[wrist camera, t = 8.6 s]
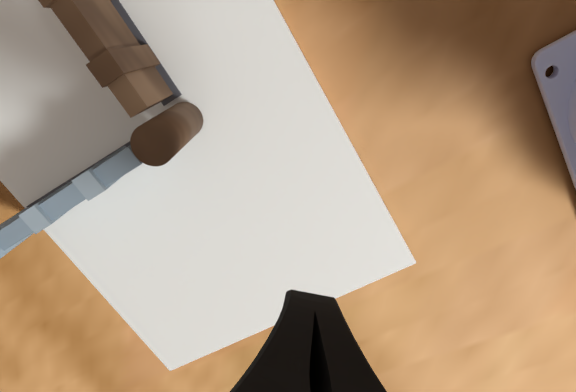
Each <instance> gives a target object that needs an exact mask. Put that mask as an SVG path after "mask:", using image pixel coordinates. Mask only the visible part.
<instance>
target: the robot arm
mask: <svg viewBox="0 0 576 392" xmlns="http://www.w3.org/2000/svg"><path fill="white" fill-rule="evenodd" d="M531 66H532V69H533V72H534V75H535V78H536V80H537V83H538V86H539V89H540V92H541V94H542V97H543V100H544V103H545V106H546V108H547V111H548V114H549V117H550V120H551V122H552V125H553V128H554V131H555V134H556V136H557V139H558V142H559V145H560V148H561V150H562V153H563V156H564V159H565V162H566V164H567V167H568V170H569V173H570V176H571V178H572V181H573V184H574V187H575V190H576V30H575V31H573V32H571V33H570V34H568V35H566V36H564V37H562V38H560V39H558V40H556V41H555V42H553V43H551V44H549V45H547V46H545V47H543V48H541V49H540V50H538V51H537V52H536V53H535V54H534V56H533V57H532V60H531ZM550 66H553V73H552V75H550V76H549V77H546V76H545V72H546V69H547V68H548V67H550ZM230 392H387V391H386V390H385V388H384V387H383V385H382V384H381V382H380V381H379V379H378V378H377V376H376V375H375V373H374V371H373V370H372V368H371V366H370V365H369V363H368V361H367V360H366V358H365V356H364V355H363V353H362V351H361V349H360V347H359V346H358V344H357V342H356V340H355V338H354V336H353V335H352V333H351V331H350V329H349V327H348V325H347V323H346V321H345V319H344V317H343V314H342V312H341V310H340V308H339V306H338V303H337V301H336V300H335V298H334V297H329V296H324V295H318V294H313V293H308V292H303V291H297V290H292V289H291V290H289V291H287V292H286V295H285V299H284V304H283V308H282V311H281V313H280V315H279V318H278V320H277V322H276V324H275V326H274V328H273V329H272V331H271V333H270V335H269V337H268V339H267V340H266V342H265V344H264V345H263V347H262V348H261V350H260V351H259V353H258V355H257V356H256V358H255V359H254V361H253V362H252V364H251V365H250V366H249V368H248V369H247V370H246V372H245V373H244V375H243V376H242V377H241V378H240V380H239V381H238V382H237V384H236V385H235V386H234V387H233V388H232V390H231V391H230Z"/></svg>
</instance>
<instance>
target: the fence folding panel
mask: <svg viewBox="0 0 576 392" xmlns="http://www.w3.org/2000/svg"><path fill="white" fill-rule="evenodd" d="M141 164H142V162H141V161H139V160H138V159H137V158H136V156H135V155H134V154H133V152H132V149H131V145H129V146H128V147H126V146H124V147H122V148H121V149H119V150H118V151H116V152H114V153H113V154H111V155H110V156H108V157H107V158H105V159H104V160H102V161H101V162H99V163H98V164H96V165H95V166H93V167H92V168H90V169H89V170H87V171H86V172H84V173H82V174H81V175H79V176H78V177H76V178H75V179H73V180H72V181H70V182H69V183H67V184H66V185H64V186H62V187H61V188H59V189H58V190H56V191H55V192H53V193H52V194H50V195H49V196H47V197H46V198H44V199H43V200H41V201H40V202H38V203H37V204H35V205H34V206H32V207H27V208H25V209H23V210H22V211H20V212H19V213H17V214H16V215H14V216H13V217H11V218H10V219H8V220H6V221H5V222H3V223H2V224H0V258H2V257H3V256H4V255H6V254H7V253H8V252H10V251H11V250H12V249H13V248H15V247H16V246H17V245H19V244H20V243H21V242H23V241H24V240H25V239H27V238H28V237H29V236H31V235H32V234H33V233H35V234H37V233H38V232H40V231H42V230H43V229H45V228H46V227H48V226H50V225H51V224H52V223H54V222H55V221H56V220H58V219H59V218H60V217H61V216H63V215H64V214H65V213H67V212H68V211H69V210H71V209H72V208H73V207H74V206H76V205H78V204H79V203H81V202H82V201H84V200H85V199H87V200H88V201H89V200H91V199H93V198H94V197H96V196H97V195H99V194H101V193H102V192H104V191H105V190H106V189H108V188H109V187H110V186H111V185H113V184H114V183H115V182H116V181H118V180H119V179H120V178H121V177H122V176H124V175H125V174H127V173H128V172H130V171H131V170H133V169H135V168H136V167H138V166H139V165H141Z"/></svg>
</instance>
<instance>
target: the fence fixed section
mask: <svg viewBox="0 0 576 392" xmlns="http://www.w3.org/2000/svg"><path fill="white" fill-rule="evenodd" d="M38 1H39V2H40V3H41V5H42V6H43V7H44V8H51V9H52V11H53V12H54V13H55V15H56V16H57V17H58V19H59V20H60V22H61V23H62V24H63V26H64V27H65V28H66V30H67V31H68V33H69V34H70V35H71V37H72V38H73V39H74V41H75V42H76V44H77V45H78V46H79V48H80V49H81V50H82V52H83V53H84V55H85V56H86V57H87V59H88V60H89V61H90V62H89V63H88V64H86V66H87V68H88V69H89V70H90V72H91V73H92V74H93V76H94V77H95V78H96V80H97V81H98V83H99V84H100V85H101V87H102V88H103V87H107V86H108V88H109V89H110V90H111V92H112V93H113V94H114V96H115V97H116V99H117V100H118V101H119V103H120V104H121V105H122V107H123V108H124V110H125V111H126V112H127V114H128V115H129V116H130V118H132V117H134V116H135V115H137V114H139V113H141V112H143V111H145V110H147V109H149V108H151V107H153V106H155V105H156V104H158V103H160V102H162V101H163V100H165V99H166V98H168V97H169V96H171V95H172V94H173V93H172V91H171V90H170V88H169V87H168V85H167V84H166V83H165V81H164V80H163V78H162V77H161V75H160V74H159V72H158V71H157V69H156V68H155V67H156V66H157V65H159V64H160V62H159V60H158V59H157V57H156V56H155V54H154V53H153V52H152V50H151V49H150V47H149V46H148V44H146V45H140V44H139V43H138V41H137V40H136V38H135V37H134V35H133V34H132V32H131V31H130V29H129V28H128V26H127V25H126V23H125V22H124V20H123V19H122V17H121V16H120V14H119V13H118V11H117V10H116V8H115V7H114V6H113V4H112V3H111V1H112V0H38ZM202 126H203V116H202V113H201V111H200V110H199V109H198V107H196V106H195V105H194V104H192V103H189V102H179V103H177V104H175V105H173V106H172V107H170V108H168V109H167V110H165V111H163V112H162V113H160V114H158V115H157V116H155V117H153V118H152V119H150V120H148V121H147V122H145V123H143V124H142V125H140V126H138V127H137V128H136V129H135V130H134V131H133V133H132V135H131V138H130V145H131V149H132V152H133V154H134V155H135V156H136V158H137V159H138V160H139V161H141V162H142V163H144V164H146V165H149V166H162V165H164V164H166V163H167V162H169V161H170V160H171V159H172V158H173V157H174V156H175V155H176V154H177V153H178V152H179V151H180V150H181V149H182V148H183V147H184V146H185V145H186V144H187V143H188V142H189V141H190V140H191V139H192V138H193V137H194V136H195V135H196V134H197V133H199V132H200V130H201V129H202Z"/></svg>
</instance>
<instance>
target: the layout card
mask: <svg viewBox="0 0 576 392" xmlns="http://www.w3.org/2000/svg"><path fill="white" fill-rule="evenodd" d="M111 3H112V4H113V6H114V7H115V8H116V10H117V11H118V13H119V14H120V16H121V17H122V19H123V20H124V22H125V23H126V25H127V26H128V28H129V29H130V31H131V32H132V34H133V35H134V37H135V38H136V40H137V41H138V43H139V44H140V45H146V44H148V46H149V47H150V49H151V50H152V52H153V53H154V54H155V56H156V57H157V59H158V60H159V62H160V64H159V65H157V66H156V67H155V68H156V69H157V71H158V72H159V74H160V75H161V77H162V78H163V80H164V81H165V83H166V84H167V85H168V87H169V88H170V90H171V91H172V93H173V94H172V95H171V96H169V97H168V98H166V99H165V100H163V101H162V102H160V103H158V104H156V105H155V106H153V107H151V108H149V109H147V110H145V111H143V112H141V113H139V114H137V115H135V116H134V117H132V118H130V116H129V115H128V114H127V112H126V111H125V110H124V108H123V107H122V105H121V104H120V103H119V101H118V100H117V99H116V97H115V96H114V94H113V93H112V92H111V90H110V89H109V88H108V86H107V87H103V88H102V87H101V85H100V84H99V83H98V81H97V80H96V78H95V77H94V76H93V74H92V73H91V72H90V70H89V69H88V68H87V66H86V64H88V63H89V62H90V61H89V60H88V59H87V57H86V56H85V55H84V53H83V52H82V50H81V49H80V48H79V46H78V45H77V44H76V42H75V41H74V39H73V38H72V37H71V35H70V34H69V33H68V31H67V30H66V28H65V27H64V26H63V24H62V23H61V22H60V20H59V19H58V17H57V16H56V15H55V13H54V12H53V11H52V9H51V8H44V7H43V6H42V5H41V3H40V2H39V1H38V0H0V181H1V182H2V183H3V184H4V186H5V187H6V188H7V189H8V190H9V191H10V192H11V193H12V194H13V196H14V197H15V198H16V199H17V200H18V201H19V202H20V203H21V205H22V206H23V207H24V208H27V207H32V206H34V205H35V204H37V203H38V202H40V201H41V200H43V199H44V198H46V197H47V196H49V195H50V194H52V193H53V192H55V191H56V190H58V189H59V188H61V187H62V186H64V185H66V184H67V183H69V182H70V181H72V180H73V179H75V178H76V177H78V176H79V175H81V174H82V173H84V172H86V171H87V170H89V169H90V168H92V167H93V166H95V165H96V164H98V163H99V162H101V161H102V160H104V159H105V158H107V157H108V156H110V155H111V154H113V153H114V152H116V151H118V150H119V149H121V148H122V147H124V146H126V147H128V146H129V145H130V138H131V135H132V133H133V131H134V130H135V129H136V128H137V127H138V126H140V125H142V124H143V123H145V122H147V121H148V120H150V119H152V118H153V117H155V116H157V115H158V114H160V113H162V112H163V111H165V110H167V109H168V108H170V107H172V106H173V105H175V104H177V103H179V102H189V103H192V104H194V105H195V106H196V107H198V109H199V110H200V111H201V113H202V116H203V126H202V129H201V130H200V132H199V133H197V134H196V135H195V136H194V137H193V138H192V139H191V140H190V141H189V142H188V143H187V144H186V145H185V146H184V147H183V148H182V149H181V150H180V151H179V152H178V153H177V154H176V155H175V156H174V157H173V158H172V159H171V160H170V161H169V162H167V163H166V164H164V165H162V166H149V165H146V164H144V163H142V164H141V165H139V166H138V167H136V168H135V169H133V170H131V171H130V172H128V173H127V174H125V175H124V176H122V177H121V178H120V179H119V180H118V181H116V182H115V183H114V184H113V185H111V186H110V187H109V188H108V189H106V190H105V191H104V192H102V193H101V194H99V195H97V196H96V197H94V198H93V199H91V200H89V201H88V200H87V199H85V200H84V201H82V202H81V203H79V204H78V205H76V206H74V207H73V208H72V209H71V210H69V211H68V212H67V213H65V214H64V215H63V216H61V217H60V218H59V219H58V220H56V221H55V222H54V223H52V224H51V225H50V226H48V227H46V228H45V229H44V230H45V231H46V233H47V234H48V235H49V236H50V237H51V238H52V239H53V240H54V242H55V243H56V244H57V245H58V246H59V247H60V248H61V249H62V251H63V252H64V253H65V254H66V255H67V256H68V257H69V258H70V259H71V261H72V262H73V263H74V264H75V265H76V266H77V267H78V268H79V270H80V271H81V272H82V273H83V274H84V275H85V276H86V277H87V279H88V280H89V281H90V282H91V283H92V284H93V285H94V286H95V287H96V289H97V290H98V291H99V292H100V293H101V294H102V295H103V296H104V298H105V299H106V300H107V301H108V302H109V303H110V304H111V305H112V307H113V308H114V309H115V310H116V311H117V312H118V313H119V314H120V316H121V317H122V318H123V319H124V320H125V321H126V322H127V323H128V324H129V326H130V327H131V328H132V329H133V330H134V331H135V332H136V333H137V335H138V336H139V337H140V338H141V339H142V340H143V341H144V342H145V344H146V345H147V346H148V347H149V348H150V349H151V350H152V351H153V352H154V354H155V355H156V356H157V357H158V358H159V359H160V360H161V361H162V363H163V364H164V365H165V366H166V367H167V368H168V369H169V370H170V371H171V370H174V369H176V368H178V367H180V366H183V365H185V364H187V363H190V362H192V361H194V360H196V359H199V358H201V357H203V356H206V355H208V354H210V353H212V352H215V351H217V350H219V349H221V348H224V347H226V346H228V345H231V344H233V343H235V342H237V341H240V340H242V339H244V338H247V337H249V336H251V335H253V334H256V333H258V332H260V331H263V330H265V329H267V328H269V327H272V326H274V325H275V324H276V322H277V320H278V318H279V315H280V313H281V311H282V308H283V304H284V299H285V295H286V292H287V291H289V290H291V289H292V290H297V291H303V292H308V293H313V294H318V295H324V296H329V297H334V298H335V299H336V298H338V297H340V296H342V295H345V294H347V293H349V292H351V291H354V290H356V289H358V288H361V287H363V286H365V285H367V284H370V283H372V282H374V281H377V280H379V279H381V278H383V277H386V276H388V275H390V274H393V273H395V272H397V271H399V270H402V269H404V268H406V267H408V266H411V265H413V264H415V263H416V261H415V259H414V257H413V255H412V253H411V252H410V250H409V248H408V246H407V244H406V242H405V241H404V239H403V237H402V235H401V233H400V231H399V230H398V228H397V226H396V224H395V222H394V220H393V219H392V217H391V215H390V213H389V211H388V209H387V208H386V206H385V204H384V202H383V200H382V198H381V197H380V195H379V193H378V191H377V189H376V187H375V185H374V184H373V182H372V180H371V178H370V176H369V174H368V173H367V171H366V169H365V167H364V165H363V163H362V162H361V160H360V158H359V156H358V154H357V152H356V151H355V149H354V147H353V145H352V143H351V141H350V140H349V138H348V136H347V134H346V132H345V130H344V129H343V127H342V125H341V123H340V121H339V119H338V118H337V116H336V114H335V112H334V110H333V108H332V106H331V105H330V103H329V101H328V99H327V97H326V95H325V94H324V92H323V90H322V88H321V86H320V84H319V83H318V81H317V79H316V77H315V75H314V73H313V72H312V70H311V68H310V66H309V64H308V62H307V61H306V59H305V57H304V55H303V53H302V51H301V50H300V48H299V46H298V44H297V42H296V40H295V38H294V37H293V35H292V33H291V31H290V29H289V27H288V26H287V24H286V22H285V20H284V18H283V16H282V15H281V13H280V11H279V9H278V7H277V5H276V4H275V2H274V0H112V1H111Z"/></svg>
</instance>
